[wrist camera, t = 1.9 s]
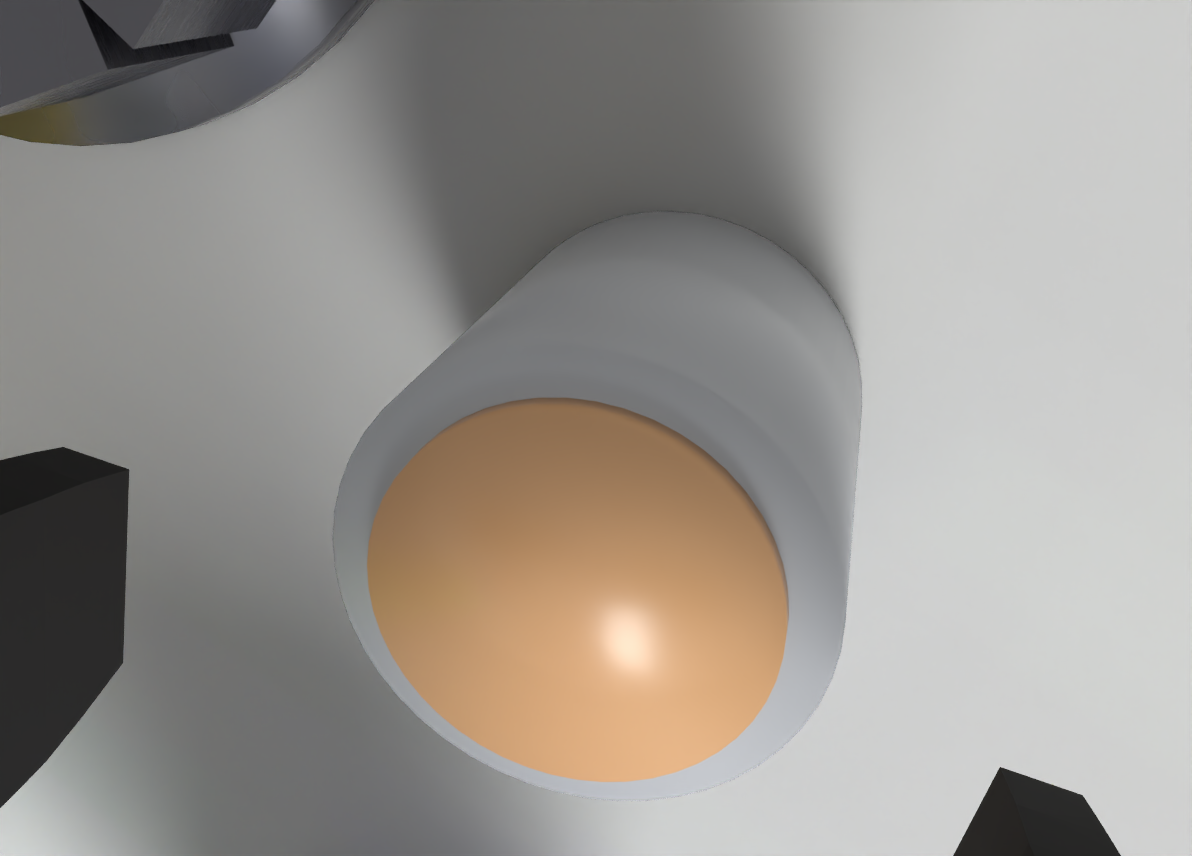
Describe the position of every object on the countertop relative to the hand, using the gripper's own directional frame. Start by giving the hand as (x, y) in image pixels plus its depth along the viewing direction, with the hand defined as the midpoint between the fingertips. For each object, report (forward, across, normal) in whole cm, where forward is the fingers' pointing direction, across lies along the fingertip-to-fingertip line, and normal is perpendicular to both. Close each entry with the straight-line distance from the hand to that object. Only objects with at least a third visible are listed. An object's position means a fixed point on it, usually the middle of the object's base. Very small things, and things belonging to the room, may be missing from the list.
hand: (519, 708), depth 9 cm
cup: (+7, 0, 0) cm, 7 cm away
